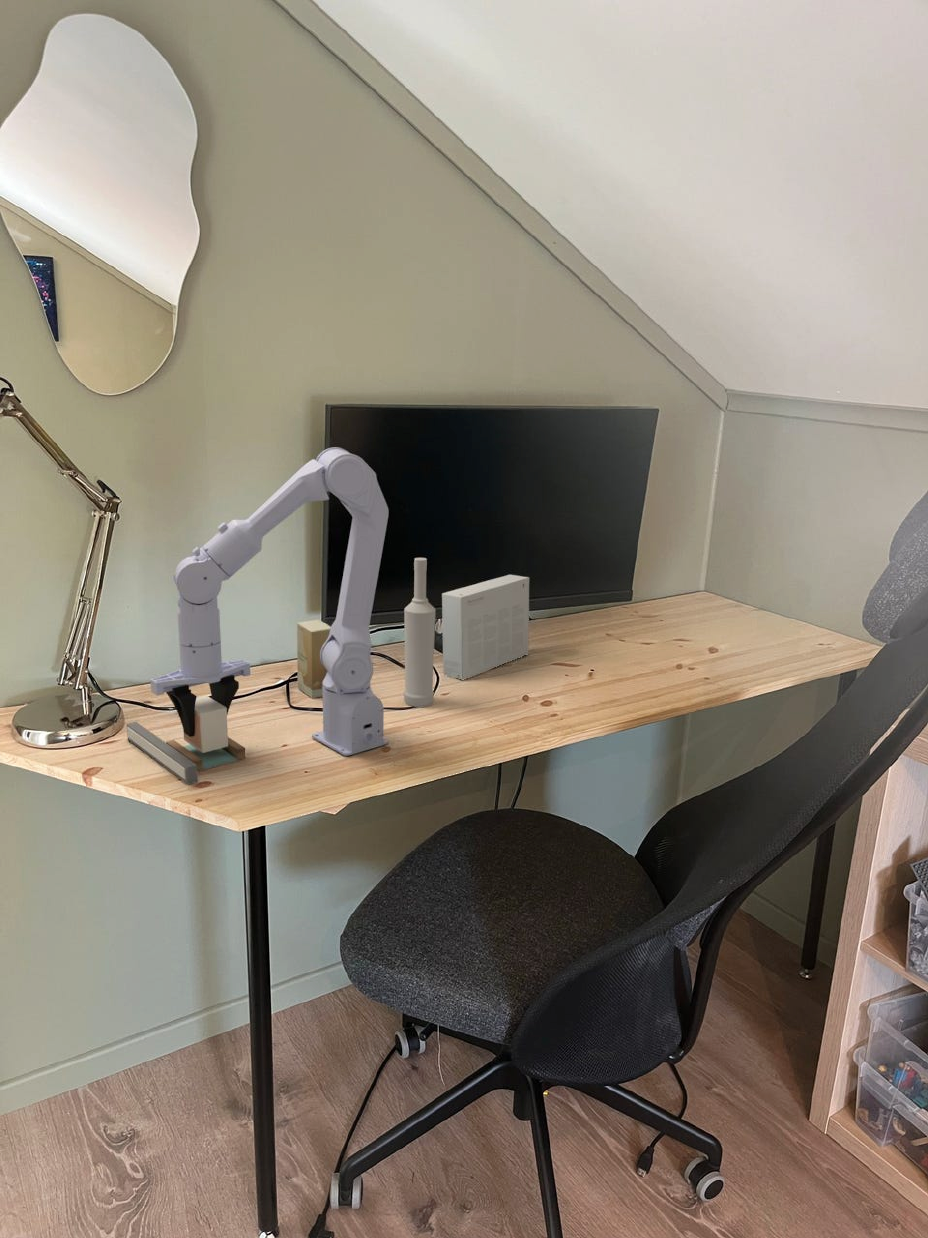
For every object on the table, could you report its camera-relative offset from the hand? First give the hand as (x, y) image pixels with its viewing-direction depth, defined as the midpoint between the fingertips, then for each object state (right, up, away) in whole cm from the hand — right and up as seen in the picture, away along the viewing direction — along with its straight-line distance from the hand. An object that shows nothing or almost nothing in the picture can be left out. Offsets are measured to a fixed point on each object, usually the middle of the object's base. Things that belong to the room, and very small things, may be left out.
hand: (204, 730), depth 141 cm
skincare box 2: (+42, +7, +45) cm, 62 cm away
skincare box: (+12, +3, +28) cm, 31 cm away
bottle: (+30, +2, +24) cm, 39 cm away
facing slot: (0, -4, +1) cm, 4 cm away
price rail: (-6, -4, -1) cm, 7 cm away
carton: (0, -2, +1) cm, 2 cm away
